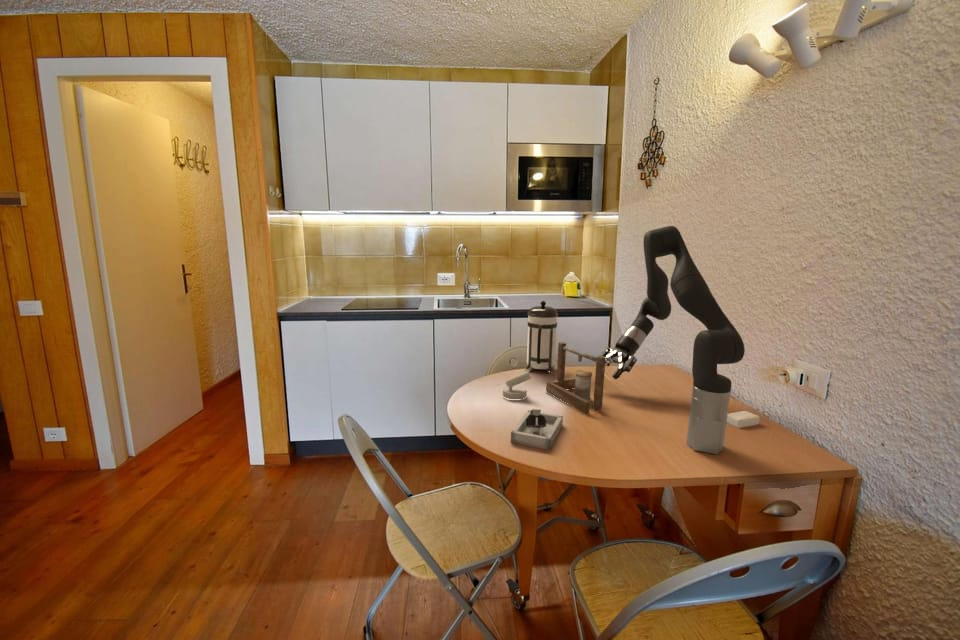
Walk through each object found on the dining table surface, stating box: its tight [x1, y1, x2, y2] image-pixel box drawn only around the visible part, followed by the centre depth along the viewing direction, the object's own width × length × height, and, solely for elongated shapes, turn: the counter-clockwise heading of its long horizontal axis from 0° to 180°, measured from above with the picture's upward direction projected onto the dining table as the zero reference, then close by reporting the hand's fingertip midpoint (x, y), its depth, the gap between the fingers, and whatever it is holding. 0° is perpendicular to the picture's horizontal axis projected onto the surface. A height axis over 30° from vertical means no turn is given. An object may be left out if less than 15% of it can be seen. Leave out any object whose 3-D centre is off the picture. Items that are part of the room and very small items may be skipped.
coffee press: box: [525, 300, 559, 374], centre depth 186 cm, size 17×16×30 cm
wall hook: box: [502, 370, 532, 399], centre depth 157 cm, size 9×10×10 cm
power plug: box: [526, 408, 546, 436], centre depth 130 cm, size 6×8×12 cm
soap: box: [726, 410, 761, 429], centre depth 139 cm, size 9×6×3 cm, turn 110°
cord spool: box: [574, 369, 593, 402], centre depth 156 cm, size 6×6×10 cm
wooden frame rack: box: [545, 341, 607, 415], centre depth 155 cm, size 15×22×18 cm, turn 27°
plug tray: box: [510, 410, 564, 450], centre depth 129 cm, size 17×11×3 cm, turn 157°
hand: (605, 374), depth 160 cm, fingers open, 8 cm apart
